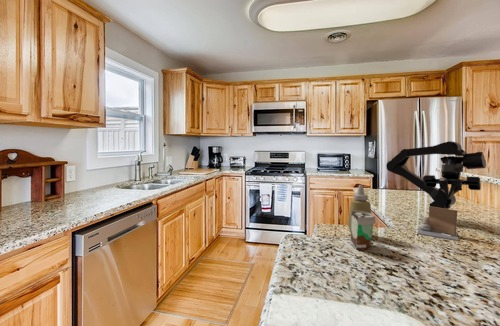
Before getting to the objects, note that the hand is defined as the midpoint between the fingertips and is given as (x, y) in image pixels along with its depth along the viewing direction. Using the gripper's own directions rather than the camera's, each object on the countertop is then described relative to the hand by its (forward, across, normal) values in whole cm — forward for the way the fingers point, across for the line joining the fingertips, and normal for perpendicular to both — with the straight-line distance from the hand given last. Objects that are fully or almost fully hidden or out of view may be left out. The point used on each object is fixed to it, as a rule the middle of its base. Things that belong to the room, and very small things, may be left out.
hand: (448, 198), depth 105 cm
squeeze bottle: (+33, -20, -22) cm, 44 cm away
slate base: (+16, -2, -1) cm, 16 cm away
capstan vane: (+16, -2, -2) cm, 16 cm away
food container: (+40, -14, -30) cm, 52 cm away
